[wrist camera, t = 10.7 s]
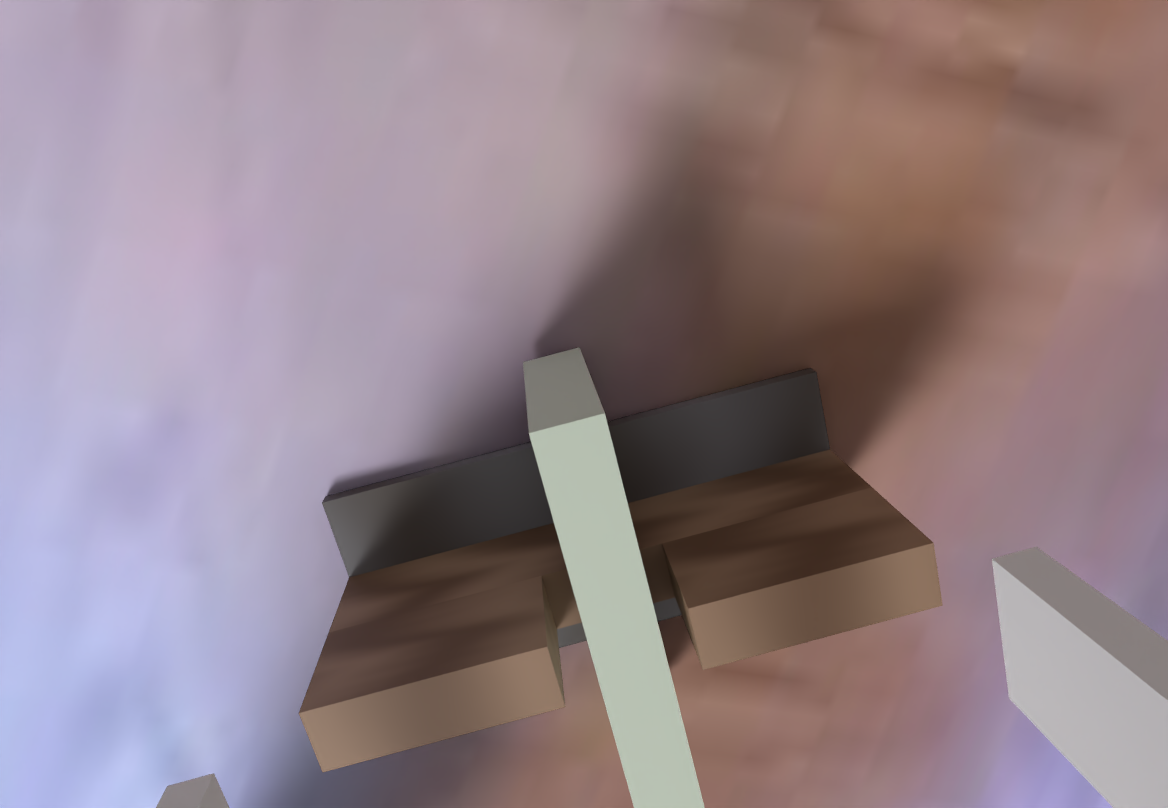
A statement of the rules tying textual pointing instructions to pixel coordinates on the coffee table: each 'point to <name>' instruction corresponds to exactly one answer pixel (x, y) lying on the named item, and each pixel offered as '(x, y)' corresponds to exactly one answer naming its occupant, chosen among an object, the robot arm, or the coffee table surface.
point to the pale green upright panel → (608, 579)
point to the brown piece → (541, 581)
